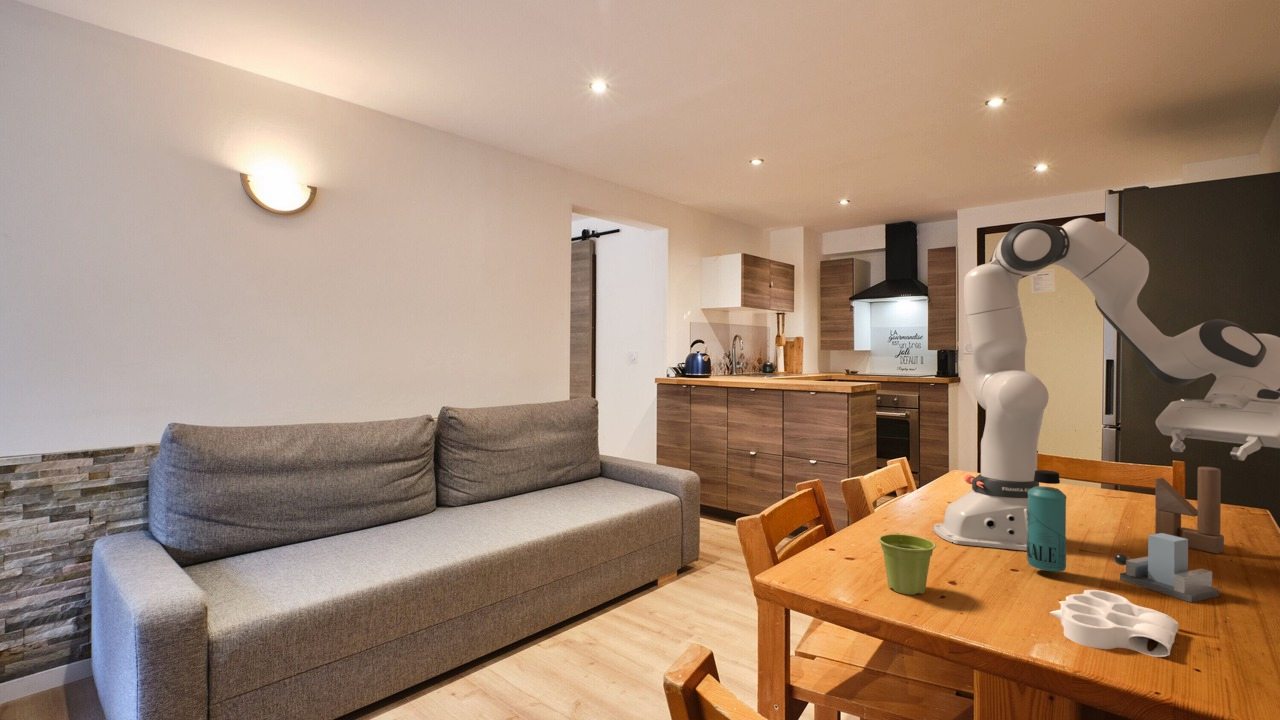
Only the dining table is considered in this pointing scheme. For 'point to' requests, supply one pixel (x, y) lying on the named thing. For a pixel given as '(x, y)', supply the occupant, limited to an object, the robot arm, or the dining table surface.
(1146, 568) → the free jaw
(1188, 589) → the vise
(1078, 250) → the robot arm
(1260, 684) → the dining table surface
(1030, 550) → the beverage bottle
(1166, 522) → the brown wooden angled piece
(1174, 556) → the steel block
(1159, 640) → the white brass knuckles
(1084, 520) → the dining table surface
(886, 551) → the plant pot
